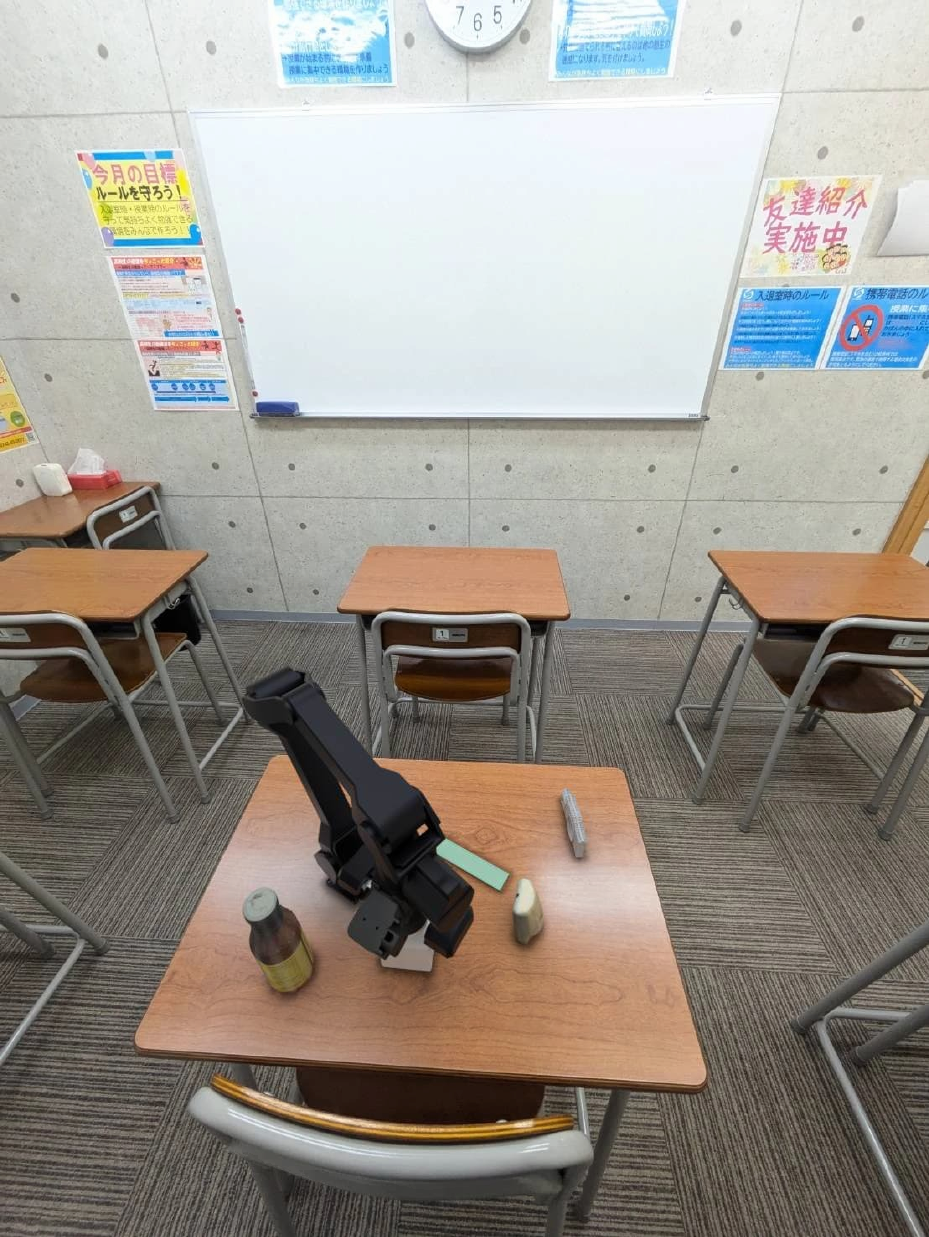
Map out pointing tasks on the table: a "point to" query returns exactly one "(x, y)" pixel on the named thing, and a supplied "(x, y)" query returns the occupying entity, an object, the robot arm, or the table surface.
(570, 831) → the garden wall model
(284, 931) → the sauce bottle
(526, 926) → the beige rounded chunk
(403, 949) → the security camera
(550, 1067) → the table surface
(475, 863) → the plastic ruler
